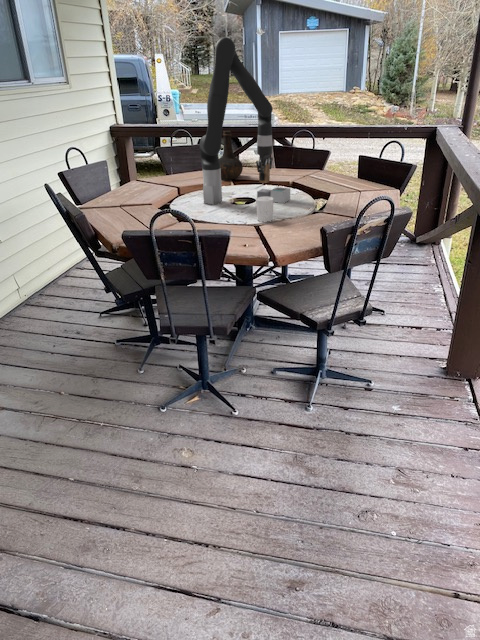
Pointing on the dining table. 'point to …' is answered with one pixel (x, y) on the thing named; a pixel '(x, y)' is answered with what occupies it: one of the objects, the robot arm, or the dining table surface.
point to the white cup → (264, 208)
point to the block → (266, 174)
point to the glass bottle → (229, 160)
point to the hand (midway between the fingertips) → (264, 179)
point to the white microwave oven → (280, 194)
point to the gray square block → (264, 193)
